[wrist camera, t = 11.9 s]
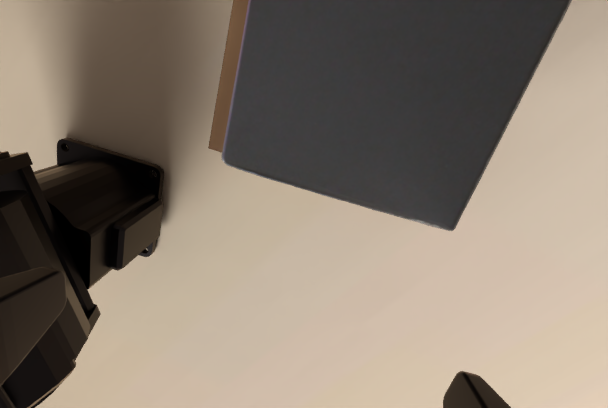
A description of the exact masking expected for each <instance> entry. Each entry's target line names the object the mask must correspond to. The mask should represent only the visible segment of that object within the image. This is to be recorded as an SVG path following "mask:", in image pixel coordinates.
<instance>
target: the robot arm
mask: <svg viewBox="0 0 608 408" xmlns="http://www.w3.org/2000/svg"><path fill="white" fill-rule="evenodd" d="M66 144H67V145H68V146H69V149H68V148H67V147H66ZM32 164H33V163H32V161H31V159H30V157H29V154H28V152H26V153H19V154H12V155H9V153H8V151H6V152H0V408H35V407H36V406H37V405H39V404H40V403H41V402H43V401H44V400H45V399H46V398H47V397H48V396H50V395H51V394H52V393H53V392H54V391H55V390H56V389H57V387H58V386H59V385H60V384H61V383H62V382H63V381H64V380H65V379H66V378H67V377H68V376H69V375H70V374H71V373H72V371H73V369H74V368H75V366H76V362H75V360H76V358H77V356H78V354H79V353H80V351H81V349H82V347H83V345H84V344H85V342H86V341H87V339H88V336H89V334H90V332H91V331H92V329H93V327H94V325H95V323H96V321H97V320H98V318H99V316H100V311H99V309H98V307H97V305H95V304H93V301H92V299H91V297H90V295H89V293H88V290H87V289H89V288H90V287H91V286H93V285H94V284H95V283H96V282H97V281H99V280H100V279H101V278H102V277H103V276H105V275H106V274H107V273H108V272H109V271H111V270H112V269H114V270H120V269H122V268H124V267H125V266H126V265H127V264H128V263H129V262H131V261H132V260H133V259H134V258H135V257H136V256H137V255H141V256H144V257H148V256H150V255H151V254H152V253H153V252H154V251H155V246H156V239H157V238H158V237H159V236H160V228H161V220H162V212H163V202H162V200H161V196H162V187H163V179H164V172H163V169H162V168H161V167H160V166H158V165H155V164H152V163H149V162H145V161H142V160H139V159H136V158H132V157H129V156H126V155H123V154H119V153H116V152H113V151H110V150H106V149H103V148H100V147H97V146H93V145H90V144H87V143H84V142H80V141H77V140H74V139H71V138H65V139H61V140H59V141H58V143H57V165H55V166H51V167H48V168H45V169H42V170H38V171H35V172H33V170H32V168H31V166H30V165H32ZM152 170H153V171H155V172H156V174H157V176H154V175H153V174H152ZM145 248H147V249H148V251H147V250H146V249H145ZM443 408H511V407H510V406H509V405H508V404H507V403H506V402H505V401H504V400H503V399H502V398H501V397H500V396H499V395H498V394H497V393H496V392H495V391H494V390H493V389H492V388H491V387H490V386H489V385H488V384H487V383H486V382H485V381H484V380H483V379H482V378H481V377H480V376H478V375H476V374H472V373H468V372H464V371H460V372H459V373H457V374H456V376H455V378H454V379H453V381H452V383H451V385H450V386H449V388H448V390H447V392H446V393H445V396H444V400H443Z"/></svg>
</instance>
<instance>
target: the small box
mask: <svg viewBox="0 0 608 408" xmlns="http://www.w3.org/2000/svg"><path fill="white" fill-rule="evenodd" d="M571 1H572V0H249V1H248V7H247V13H246V19H245V25H244V31H243V36H242V42H241V48H240V54H239V60H238V65H237V71H236V76H235V82H234V88H233V93H232V99H231V105H230V110H229V116H228V122H227V128H226V133H225V139H224V145H223V151H222V160H223V162H224V163H225V164H227V165H228V166H231V167H234V168H237V169H240V170H243V171H246V172H248V173H251V174H254V175H258V176H261V177H264V178H267V179H271V180H274V181H278V182H281V183H284V184H289V185H292V186H295V187H298V188H301V189H305V190H308V191H311V192H315V193H318V194H321V195H324V196H328V197H332V198H335V199H338V200H342V201H346V202H349V203H353V204H356V205H360V206H363V207H366V208H369V209H372V210H376V211H380V212H384V213H387V214H391V215H394V216H397V217H401V218H404V219H408V220H412V221H415V222H419V223H422V224H425V225H428V226H432V227H436V228H440V229H444V230H448V231H453V230H454V229H455V228H456V225H457V223H458V221H459V219H460V217H461V215H462V213H463V211H464V210H465V208H466V206H467V204H468V202H469V200H470V198H471V196H472V194H473V192H474V190H475V189H476V187H477V185H478V183H479V181H480V179H481V177H482V175H483V173H484V171H485V169H486V167H487V165H488V163H489V161H490V159H491V157H492V155H493V153H494V151H495V149H496V147H497V146H498V144H499V142H500V140H501V138H502V136H503V134H504V132H505V130H506V128H507V126H508V124H509V122H510V120H511V118H512V116H513V114H514V112H515V111H516V109H517V107H518V105H519V103H520V101H521V99H522V97H523V95H524V93H525V91H526V89H527V87H528V85H529V83H530V81H531V79H532V77H533V75H534V73H535V71H536V69H537V67H538V65H539V64H540V62H541V60H542V58H543V56H544V54H545V52H546V50H547V48H548V46H549V44H550V42H551V40H552V38H553V36H554V34H555V32H556V30H557V28H558V26H559V24H560V23H561V21H562V19H563V17H564V15H565V13H566V11H567V9H568V7H569V5H570V3H571Z"/></svg>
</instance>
